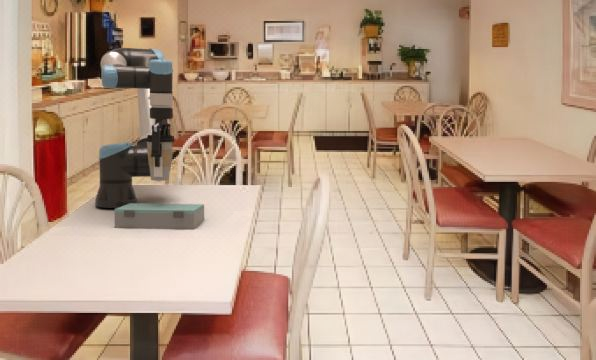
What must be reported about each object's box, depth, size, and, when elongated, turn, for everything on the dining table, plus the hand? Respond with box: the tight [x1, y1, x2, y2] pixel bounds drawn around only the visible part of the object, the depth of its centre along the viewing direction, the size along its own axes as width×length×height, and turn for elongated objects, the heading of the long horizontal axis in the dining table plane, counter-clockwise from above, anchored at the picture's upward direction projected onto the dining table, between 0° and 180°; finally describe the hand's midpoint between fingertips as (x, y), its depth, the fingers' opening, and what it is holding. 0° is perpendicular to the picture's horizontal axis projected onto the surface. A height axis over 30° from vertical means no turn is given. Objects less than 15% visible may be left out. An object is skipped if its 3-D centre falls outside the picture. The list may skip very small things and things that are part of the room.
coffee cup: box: [146, 134, 175, 182], centre depth 208 cm, size 9×9×15 cm
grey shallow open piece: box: [113, 207, 205, 230], centre depth 207 cm, size 15×26×5 cm, turn 86°
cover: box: [113, 202, 205, 218], centre depth 206 cm, size 16×26×2 cm, turn 86°
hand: (161, 175), depth 209 cm, fingers closed on coffee cup, 7 cm apart
